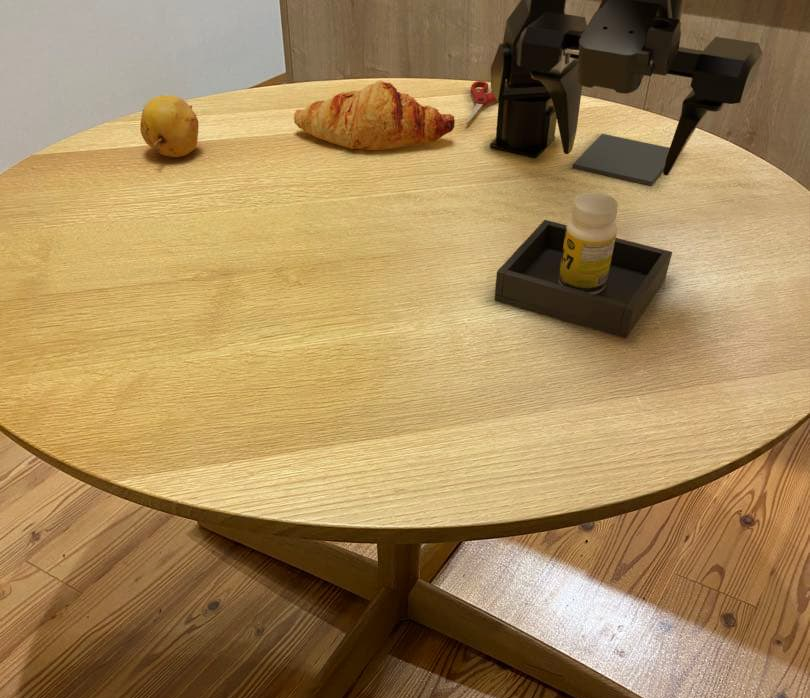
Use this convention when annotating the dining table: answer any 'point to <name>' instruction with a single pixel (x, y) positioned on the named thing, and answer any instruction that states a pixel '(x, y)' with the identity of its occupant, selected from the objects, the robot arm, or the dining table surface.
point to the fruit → (169, 126)
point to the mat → (624, 159)
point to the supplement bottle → (589, 243)
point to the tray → (606, 311)
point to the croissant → (373, 119)
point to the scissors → (480, 97)
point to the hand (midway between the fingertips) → (616, 162)
